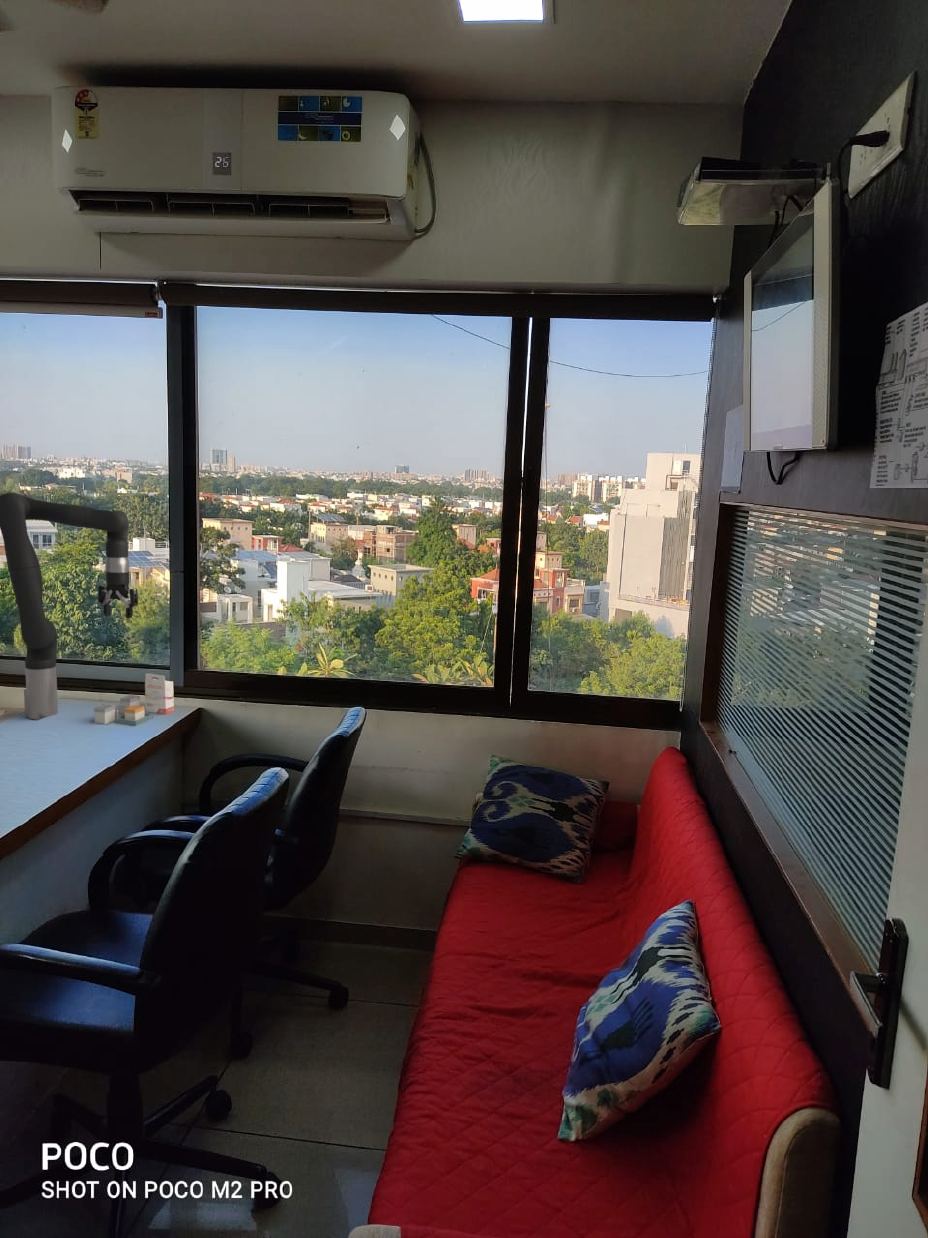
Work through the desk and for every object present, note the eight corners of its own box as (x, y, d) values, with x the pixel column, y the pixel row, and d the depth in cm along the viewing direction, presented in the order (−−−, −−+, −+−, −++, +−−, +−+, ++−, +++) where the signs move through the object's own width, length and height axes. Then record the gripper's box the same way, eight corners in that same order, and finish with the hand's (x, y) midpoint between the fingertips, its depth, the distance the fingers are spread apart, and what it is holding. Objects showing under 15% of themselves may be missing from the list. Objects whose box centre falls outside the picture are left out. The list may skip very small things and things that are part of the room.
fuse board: (89, 725, 276) (89, 707, 275) (127, 710, 294) (126, 693, 293) (108, 727, 274) (107, 710, 273) (144, 712, 292) (144, 696, 291)
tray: (114, 725, 277) (114, 718, 276) (132, 718, 285) (132, 711, 285) (136, 728, 275) (136, 721, 274) (153, 721, 283) (153, 714, 283)
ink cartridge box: (174, 713, 293) (174, 673, 290) (165, 717, 288) (165, 676, 285) (154, 710, 295) (153, 670, 293) (144, 714, 290) (144, 673, 288)
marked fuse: (124, 723, 278) (124, 708, 277) (134, 719, 283) (134, 704, 282) (135, 724, 277) (135, 710, 276) (144, 720, 282) (144, 706, 281)
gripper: (91, 569, 280) (93, 616, 283) (128, 572, 277) (129, 620, 280) (107, 567, 288) (108, 613, 290) (142, 570, 284) (143, 617, 287)
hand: (118, 617), depth 285 cm, fingers open, 8 cm apart
